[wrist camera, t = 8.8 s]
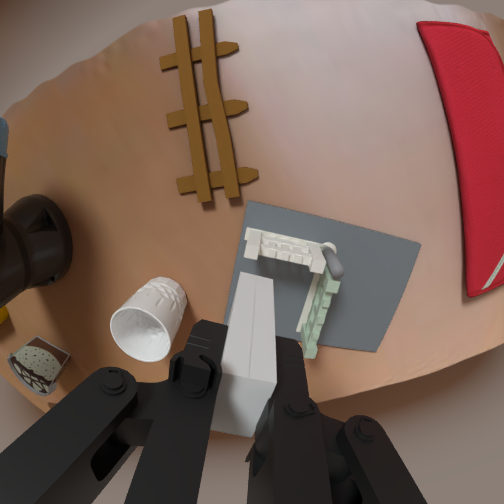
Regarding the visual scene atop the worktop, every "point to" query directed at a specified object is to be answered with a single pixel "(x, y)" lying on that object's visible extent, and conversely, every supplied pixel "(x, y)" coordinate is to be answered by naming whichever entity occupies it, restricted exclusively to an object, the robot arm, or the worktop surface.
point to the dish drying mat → (474, 140)
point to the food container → (39, 365)
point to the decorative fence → (205, 110)
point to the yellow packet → (3, 314)
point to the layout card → (351, 283)
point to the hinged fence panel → (321, 302)
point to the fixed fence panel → (285, 251)
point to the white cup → (150, 320)
